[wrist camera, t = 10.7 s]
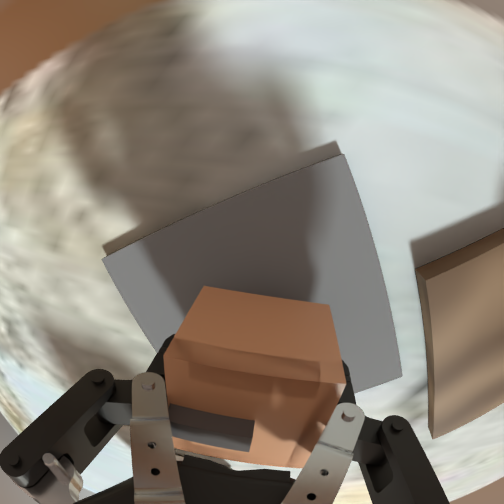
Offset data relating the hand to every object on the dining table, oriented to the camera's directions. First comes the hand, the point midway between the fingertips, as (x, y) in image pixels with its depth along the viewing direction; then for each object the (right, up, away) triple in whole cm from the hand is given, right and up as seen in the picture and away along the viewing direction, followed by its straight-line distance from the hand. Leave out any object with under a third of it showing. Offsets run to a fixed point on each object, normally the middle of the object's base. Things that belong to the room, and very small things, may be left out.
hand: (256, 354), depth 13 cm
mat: (0, +1, +3) cm, 3 cm away
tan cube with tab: (0, 0, 0) cm, 0 cm away
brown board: (+19, 0, +1) cm, 19 cm away
